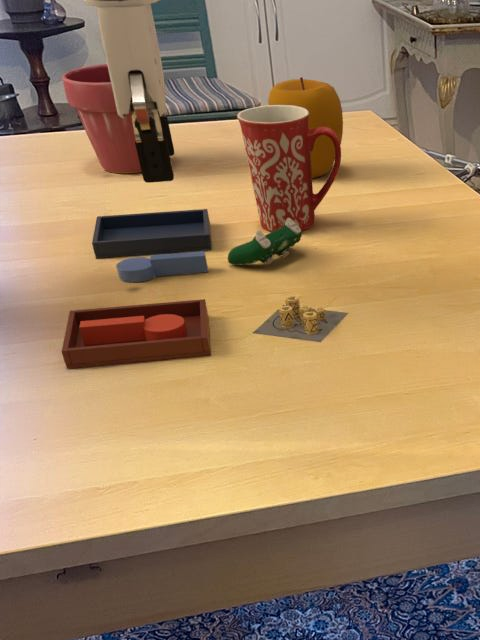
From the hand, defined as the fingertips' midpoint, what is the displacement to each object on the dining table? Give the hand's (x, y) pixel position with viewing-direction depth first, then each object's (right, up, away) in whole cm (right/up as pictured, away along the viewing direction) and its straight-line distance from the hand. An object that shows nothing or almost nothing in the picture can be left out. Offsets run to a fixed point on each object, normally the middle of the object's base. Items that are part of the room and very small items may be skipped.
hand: (160, 168), depth 105 cm
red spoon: (0, -21, -6) cm, 22 cm away
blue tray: (-6, -1, +16) cm, 18 cm away
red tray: (0, -21, -6) cm, 22 cm away
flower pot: (-18, +21, +41) cm, 50 cm away
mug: (+12, +3, +21) cm, 25 cm away
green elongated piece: (+10, -6, +12) cm, 16 cm away
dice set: (+16, -18, -2) cm, 25 cm away
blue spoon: (-3, -9, +8) cm, 12 cm away
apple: (+10, +19, +39) cm, 44 cm away
